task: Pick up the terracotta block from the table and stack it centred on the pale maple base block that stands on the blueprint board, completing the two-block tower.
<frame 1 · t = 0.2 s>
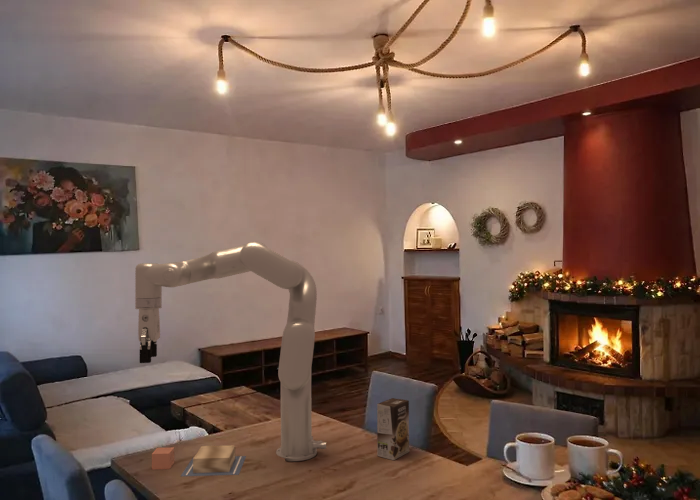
hand: (148, 359, 166), 30 cm above the table, fingers open, 9 cm apart
snack box: (393, 454, 168), on the table
maple base block: (214, 465, 158), resting on blueprint board
blueprint board: (214, 469, 158), on the table
terracotta block: (163, 469, 158), on the table
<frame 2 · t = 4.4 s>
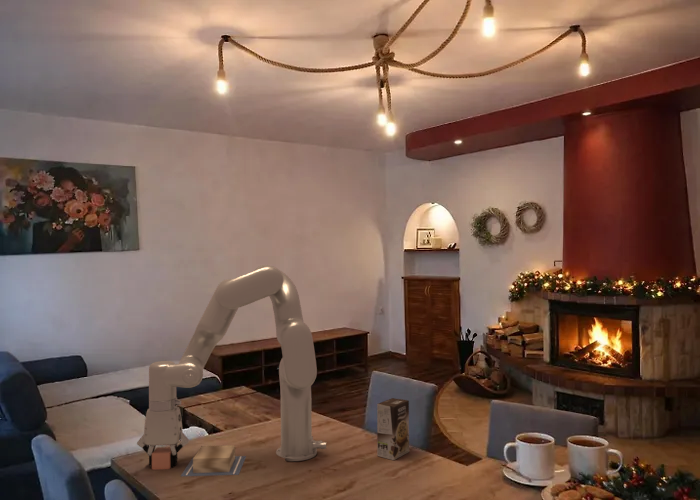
hand: (163, 466, 158), 1 cm above the table, fingers closed on terracotta block, 4 cm apart
terracotta block: (163, 469, 158), on the table, touching gripper
everything else where it was.
when the fingers open (7 cm above the table, at t = 10.8 s): terracotta block drops 1 cm, resting on maple base block.
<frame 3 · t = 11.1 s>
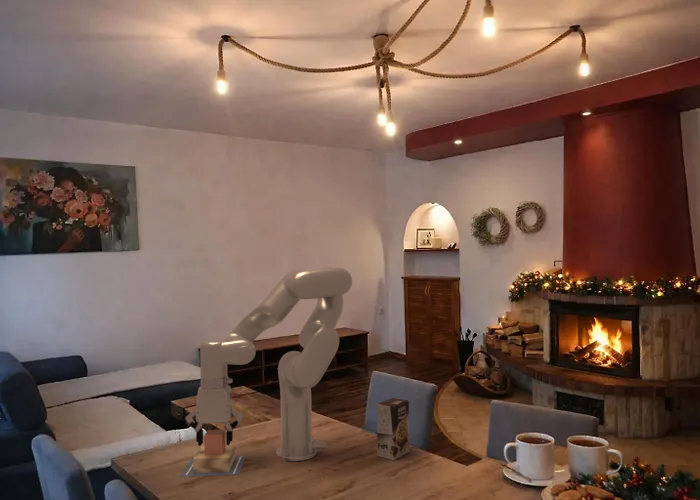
hand: (214, 443, 158), 7 cm above the table, fingers open, 7 cm apart
terracotta block: (215, 451, 158), point 5 cm above the table, touching maple base block
everything else where it was.
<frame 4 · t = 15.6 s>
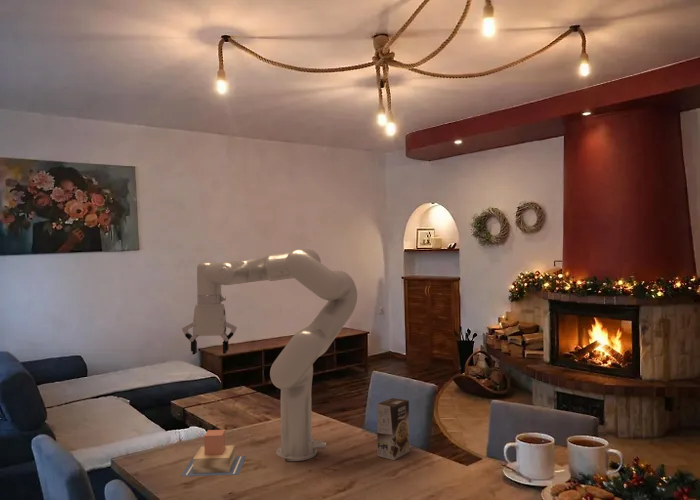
hand: (209, 353, 176), 30 cm above the table, fingers open, 9 cm apart
nothing on the table moved.
at the end: terracotta block 0.1 cm off-centre on the maple base block, point 4.0 cm above the maple base block's base; terracotta block tilted 0°; the gripper is holding nothing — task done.
